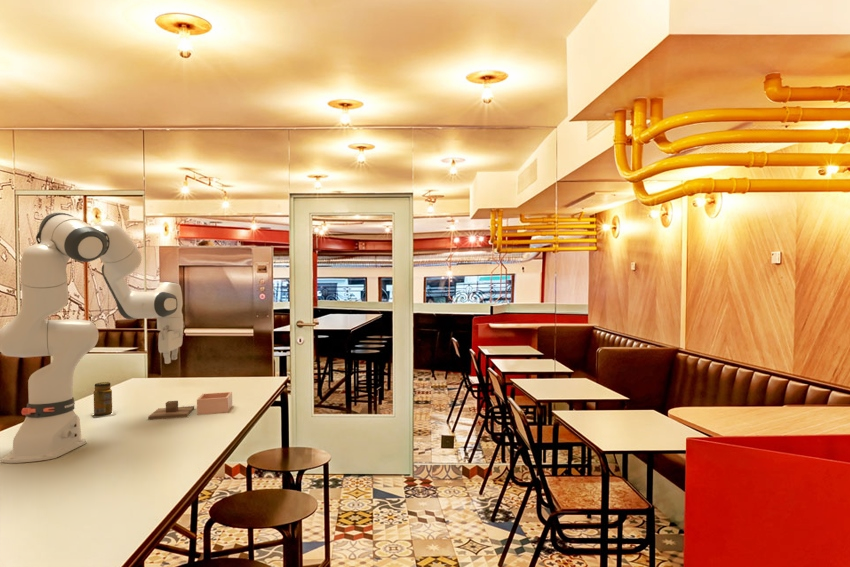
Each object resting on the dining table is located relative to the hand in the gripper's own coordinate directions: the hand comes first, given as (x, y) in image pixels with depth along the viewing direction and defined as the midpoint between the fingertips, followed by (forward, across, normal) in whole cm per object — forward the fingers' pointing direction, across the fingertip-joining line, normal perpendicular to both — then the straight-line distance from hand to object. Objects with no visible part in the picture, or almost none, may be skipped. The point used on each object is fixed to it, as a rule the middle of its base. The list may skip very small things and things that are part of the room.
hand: (171, 361), depth 199 cm
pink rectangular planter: (+20, +2, -15) cm, 25 cm away
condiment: (+21, +10, +27) cm, 35 cm away
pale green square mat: (+20, 0, 0) cm, 20 cm away
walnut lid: (+20, 0, 0) cm, 20 cm away
